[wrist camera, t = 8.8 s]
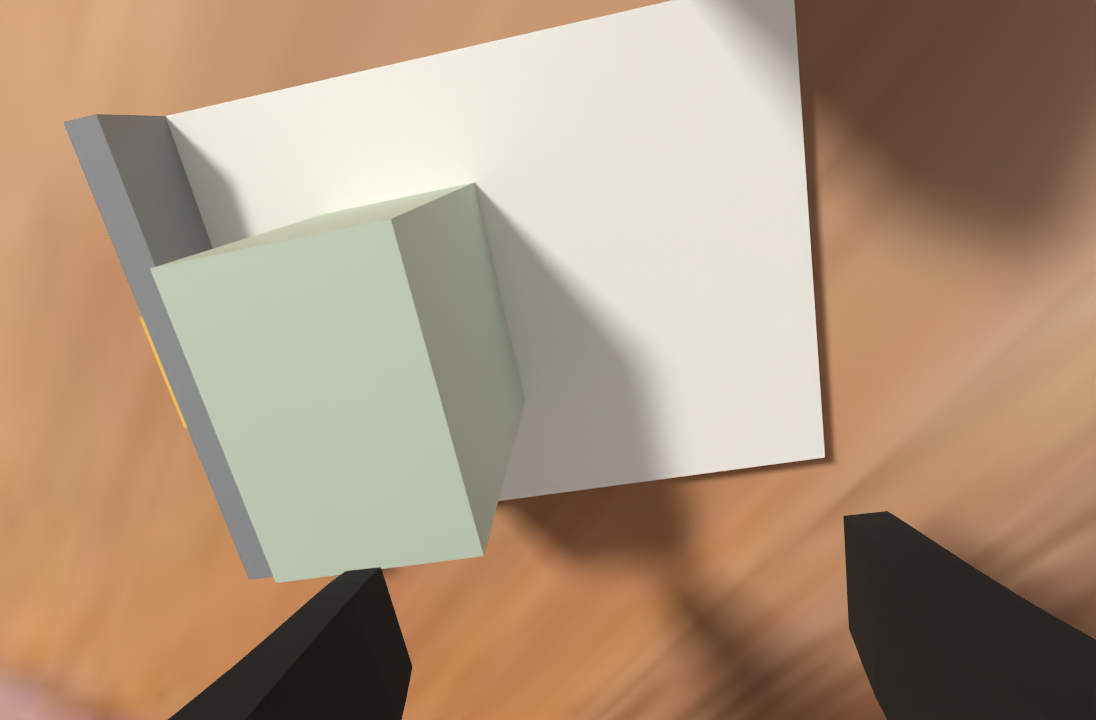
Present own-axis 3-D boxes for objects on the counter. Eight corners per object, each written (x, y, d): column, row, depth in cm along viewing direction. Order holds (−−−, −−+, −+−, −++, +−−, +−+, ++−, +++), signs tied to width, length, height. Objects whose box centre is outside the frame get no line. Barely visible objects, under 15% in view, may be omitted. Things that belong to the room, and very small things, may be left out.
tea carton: (474, 182, 16) (390, 218, 10) (524, 401, 18) (483, 555, 12) (308, 216, 17) (124, 273, 10) (374, 425, 19) (254, 585, 12)
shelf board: (780, -18, 15) (828, -56, 12) (813, 441, 19) (857, 504, 16) (148, 126, 17) (46, 125, 14) (290, 512, 21) (235, 581, 18)
